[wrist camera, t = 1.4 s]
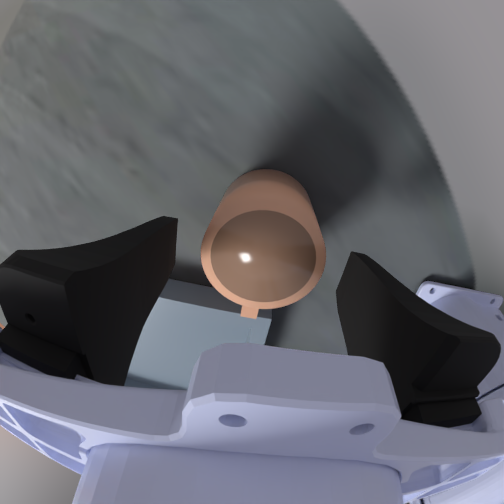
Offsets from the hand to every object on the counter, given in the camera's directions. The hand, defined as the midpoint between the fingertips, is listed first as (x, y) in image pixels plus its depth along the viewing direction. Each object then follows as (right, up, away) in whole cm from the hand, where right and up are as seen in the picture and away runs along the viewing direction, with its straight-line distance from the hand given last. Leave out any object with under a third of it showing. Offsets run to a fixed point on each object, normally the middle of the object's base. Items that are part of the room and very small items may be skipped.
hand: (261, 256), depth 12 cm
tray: (-7, -7, +10) cm, 14 cm away
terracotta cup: (0, +2, +4) cm, 5 cm away
